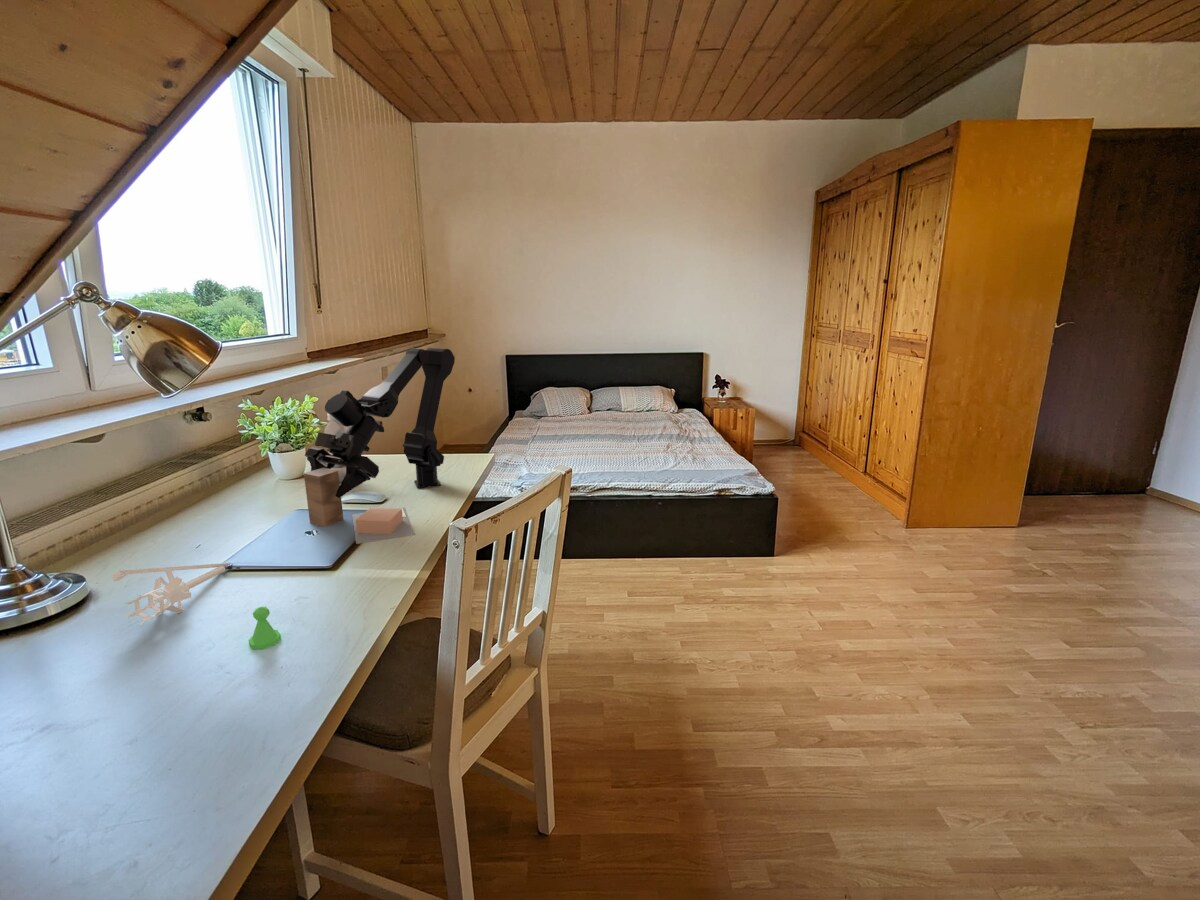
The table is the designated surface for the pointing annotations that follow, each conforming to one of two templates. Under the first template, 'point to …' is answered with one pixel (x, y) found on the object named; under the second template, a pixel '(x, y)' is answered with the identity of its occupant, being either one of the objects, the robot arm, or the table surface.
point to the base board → (400, 531)
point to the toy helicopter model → (168, 588)
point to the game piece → (263, 631)
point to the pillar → (323, 496)
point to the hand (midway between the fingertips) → (322, 493)
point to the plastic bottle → (333, 429)
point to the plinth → (379, 521)
